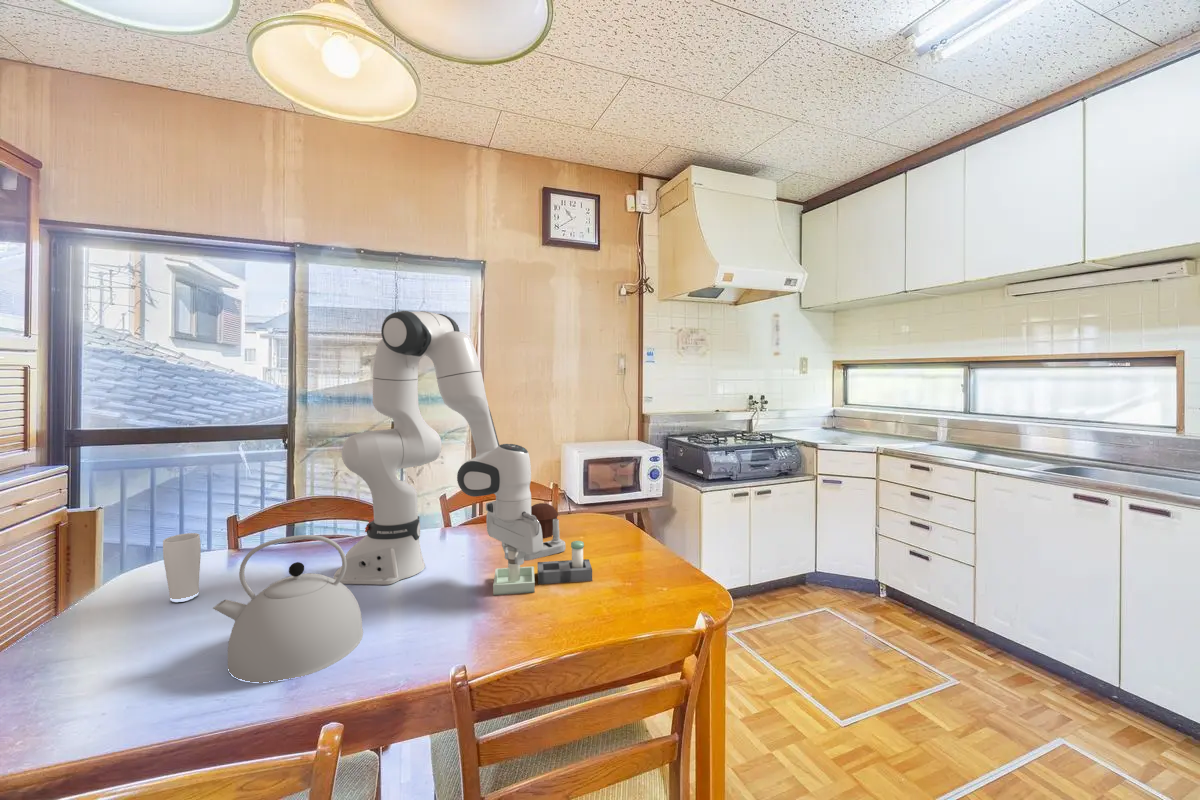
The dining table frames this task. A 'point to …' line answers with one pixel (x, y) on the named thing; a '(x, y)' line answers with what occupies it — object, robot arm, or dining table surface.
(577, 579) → the socket block
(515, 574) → the cylinder
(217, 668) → the dining table surface
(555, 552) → the electronic device
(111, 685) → the dining table surface
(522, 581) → the parts tray
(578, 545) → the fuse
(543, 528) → the muffin
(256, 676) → the kettle
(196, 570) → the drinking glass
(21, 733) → the dining table surface
